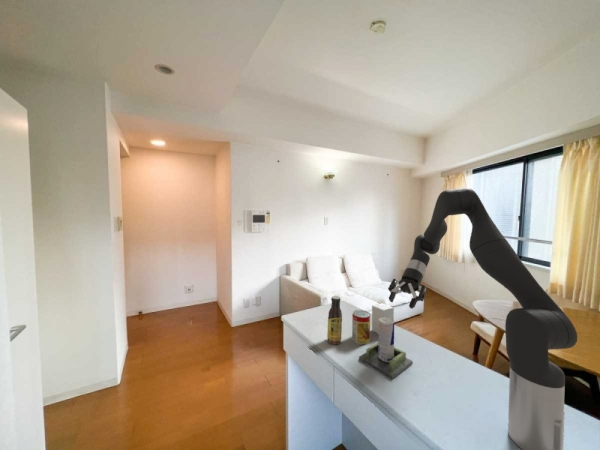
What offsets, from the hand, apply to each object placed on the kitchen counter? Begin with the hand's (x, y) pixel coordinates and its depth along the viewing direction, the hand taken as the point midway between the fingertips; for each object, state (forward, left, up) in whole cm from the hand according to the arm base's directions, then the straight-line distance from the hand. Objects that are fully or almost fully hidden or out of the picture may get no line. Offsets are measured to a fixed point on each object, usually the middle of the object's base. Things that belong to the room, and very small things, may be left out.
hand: (400, 304), depth 93 cm
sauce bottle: (+22, +15, -20) cm, 34 cm away
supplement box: (+14, -10, -20) cm, 26 cm away
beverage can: (0, +10, -19) cm, 21 cm away
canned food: (+16, +4, -20) cm, 26 cm away
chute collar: (0, +10, -20) cm, 22 cm away
